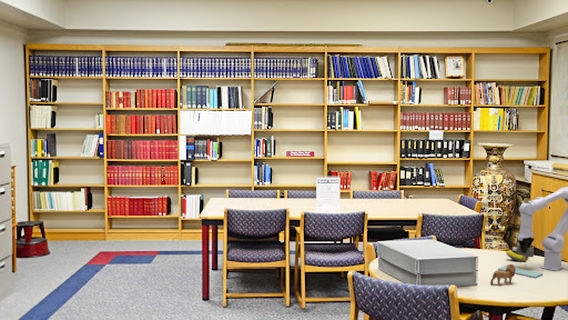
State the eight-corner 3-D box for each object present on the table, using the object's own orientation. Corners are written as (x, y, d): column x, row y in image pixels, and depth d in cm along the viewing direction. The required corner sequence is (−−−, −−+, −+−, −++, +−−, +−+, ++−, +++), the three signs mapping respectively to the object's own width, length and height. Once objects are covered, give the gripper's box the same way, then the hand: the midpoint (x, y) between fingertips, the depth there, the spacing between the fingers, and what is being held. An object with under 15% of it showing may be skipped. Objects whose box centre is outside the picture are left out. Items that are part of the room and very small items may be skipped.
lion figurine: (508, 280, 263) (509, 262, 262) (517, 283, 258) (518, 265, 257) (486, 284, 256) (487, 265, 255) (496, 287, 251) (496, 268, 251)
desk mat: (505, 267, 287) (506, 265, 287) (542, 274, 273) (542, 273, 273) (497, 270, 281) (498, 268, 281) (535, 278, 267) (535, 276, 267)
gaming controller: (505, 260, 300) (524, 263, 295) (505, 250, 300) (524, 253, 294) (511, 255, 313) (530, 257, 307) (511, 245, 312) (530, 248, 306)
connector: (514, 252, 289) (515, 244, 288) (534, 256, 281) (535, 247, 281) (511, 253, 286) (512, 245, 286) (531, 257, 279) (532, 248, 278)
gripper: (524, 223, 290) (523, 248, 291) (512, 226, 280) (511, 252, 281) (538, 225, 285) (536, 250, 286) (526, 229, 275) (525, 255, 276)
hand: (525, 252), depth 283 cm, fingers closed on connector, 3 cm apart
